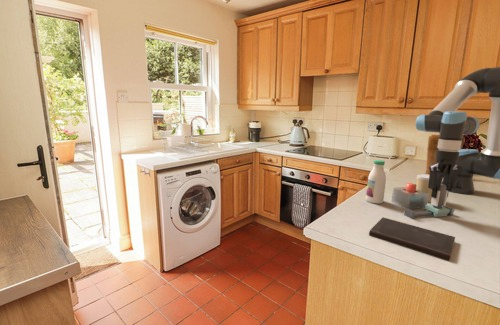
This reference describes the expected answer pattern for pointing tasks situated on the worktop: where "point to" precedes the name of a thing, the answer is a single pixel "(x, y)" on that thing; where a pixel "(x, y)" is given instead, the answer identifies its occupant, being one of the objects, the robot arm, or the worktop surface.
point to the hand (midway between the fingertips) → (437, 204)
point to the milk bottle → (376, 183)
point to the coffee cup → (424, 185)
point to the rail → (424, 213)
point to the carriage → (439, 204)
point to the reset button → (411, 187)
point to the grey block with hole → (409, 198)
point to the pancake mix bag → (434, 150)
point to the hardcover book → (414, 238)
